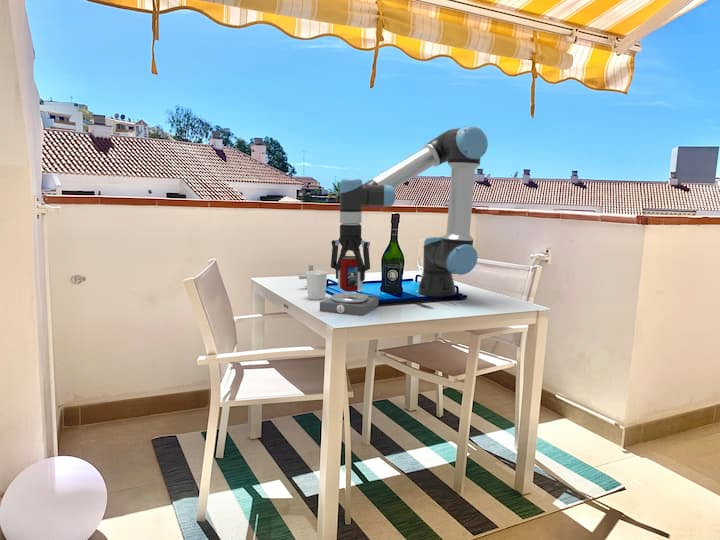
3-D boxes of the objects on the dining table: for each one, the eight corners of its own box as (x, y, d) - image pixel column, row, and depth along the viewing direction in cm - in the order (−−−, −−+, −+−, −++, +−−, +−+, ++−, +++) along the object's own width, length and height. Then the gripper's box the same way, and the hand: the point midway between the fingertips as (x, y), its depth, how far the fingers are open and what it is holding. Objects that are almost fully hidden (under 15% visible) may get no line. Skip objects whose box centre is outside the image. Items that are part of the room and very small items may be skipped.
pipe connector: (296, 287, 212) (295, 263, 210) (318, 285, 216) (318, 262, 214) (303, 291, 203) (303, 267, 201) (326, 289, 207) (326, 266, 205)
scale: (378, 305, 181) (378, 296, 181) (362, 316, 166) (362, 306, 165) (338, 301, 187) (338, 292, 186) (318, 311, 172) (318, 301, 171)
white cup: (315, 294, 198) (315, 270, 196) (330, 297, 193) (331, 272, 191) (302, 298, 191) (302, 272, 190) (317, 301, 187) (317, 275, 185)
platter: (373, 297, 180) (373, 294, 180) (360, 304, 168) (360, 302, 168) (340, 294, 184) (340, 291, 184) (325, 301, 172) (325, 298, 172)
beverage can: (352, 293, 171) (353, 258, 169) (336, 290, 175) (336, 257, 172) (363, 289, 177) (363, 256, 175) (347, 287, 180) (347, 254, 178)
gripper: (380, 224, 172) (379, 289, 175) (329, 222, 179) (329, 284, 182) (373, 225, 165) (372, 293, 169) (320, 223, 172) (320, 288, 176)
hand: (350, 288), depth 175 cm, fingers closed on beverage can, 7 cm apart
